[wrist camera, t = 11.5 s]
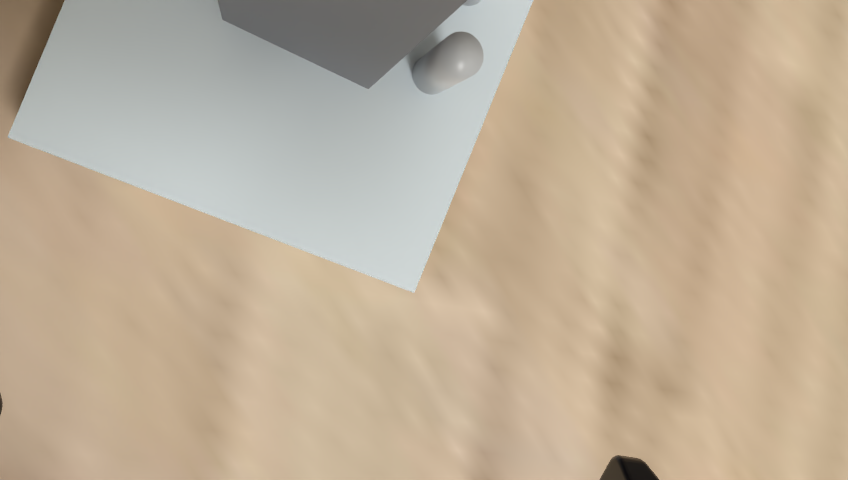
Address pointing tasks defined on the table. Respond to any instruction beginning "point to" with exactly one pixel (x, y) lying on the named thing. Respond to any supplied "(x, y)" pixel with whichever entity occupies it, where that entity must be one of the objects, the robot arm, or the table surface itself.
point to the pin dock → (272, 123)
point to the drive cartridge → (342, 30)
